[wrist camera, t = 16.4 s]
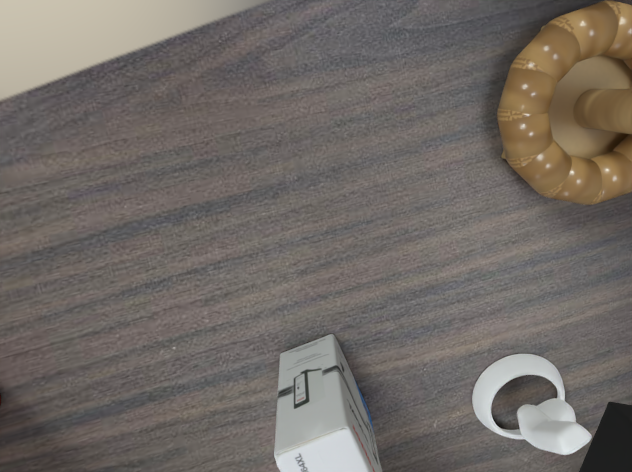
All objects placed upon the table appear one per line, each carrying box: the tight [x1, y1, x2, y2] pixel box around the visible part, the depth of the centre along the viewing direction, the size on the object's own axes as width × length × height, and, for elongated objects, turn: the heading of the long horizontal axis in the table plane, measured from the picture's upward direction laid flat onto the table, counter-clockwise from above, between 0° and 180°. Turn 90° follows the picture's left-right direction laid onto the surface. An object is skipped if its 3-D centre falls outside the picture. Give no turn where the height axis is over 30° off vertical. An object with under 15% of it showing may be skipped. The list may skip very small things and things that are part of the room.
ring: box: [497, 1, 632, 205], centre depth 32 cm, size 12×12×3 cm
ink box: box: [274, 334, 382, 472], centre depth 35 cm, size 9×5×12 cm, turn 22°
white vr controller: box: [472, 354, 592, 455], centre depth 38 cm, size 8×12×7 cm
